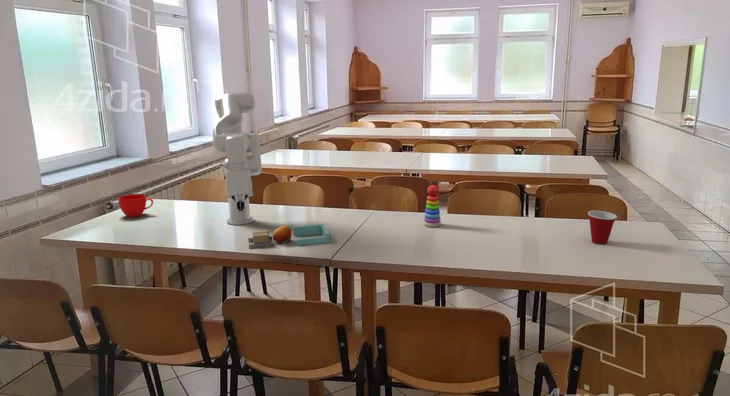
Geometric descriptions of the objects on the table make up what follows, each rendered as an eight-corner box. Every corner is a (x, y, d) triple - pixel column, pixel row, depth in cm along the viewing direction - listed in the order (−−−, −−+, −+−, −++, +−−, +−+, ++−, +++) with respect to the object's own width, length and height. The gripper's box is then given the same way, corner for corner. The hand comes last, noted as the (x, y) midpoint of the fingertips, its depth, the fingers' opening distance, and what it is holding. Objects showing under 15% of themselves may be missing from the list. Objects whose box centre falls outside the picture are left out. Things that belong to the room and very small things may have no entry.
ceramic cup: (149, 218, 270) (147, 199, 267) (116, 219, 270) (113, 200, 268) (159, 212, 282) (157, 193, 280) (127, 212, 283) (125, 194, 280)
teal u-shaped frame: (293, 235, 236) (293, 226, 235) (323, 232, 238) (323, 224, 237) (297, 245, 222) (296, 236, 221) (329, 242, 225) (328, 233, 224)
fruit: (292, 241, 222) (281, 225, 221) (277, 250, 224) (267, 234, 224) (298, 236, 230) (288, 220, 229) (284, 244, 232) (274, 229, 231)
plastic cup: (612, 248, 208) (615, 218, 205) (583, 244, 214) (585, 215, 211) (616, 240, 217) (619, 211, 214) (588, 236, 223) (590, 208, 220)
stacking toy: (421, 226, 243) (421, 186, 239) (426, 222, 250) (426, 182, 246) (438, 228, 240) (438, 187, 236) (442, 223, 247) (443, 183, 243)
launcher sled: (253, 241, 228) (252, 231, 227) (269, 239, 230) (268, 229, 229) (253, 246, 221) (253, 236, 220) (270, 244, 223) (269, 234, 222)
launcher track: (248, 241, 229) (248, 238, 229) (272, 239, 231) (272, 235, 231) (249, 248, 220) (248, 245, 219) (273, 246, 222) (273, 242, 222)
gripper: (217, 169, 211) (222, 214, 215) (256, 166, 214) (259, 211, 218) (218, 166, 218) (222, 210, 222) (255, 164, 221) (259, 207, 226)
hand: (241, 210), depth 220 cm, fingers closed
